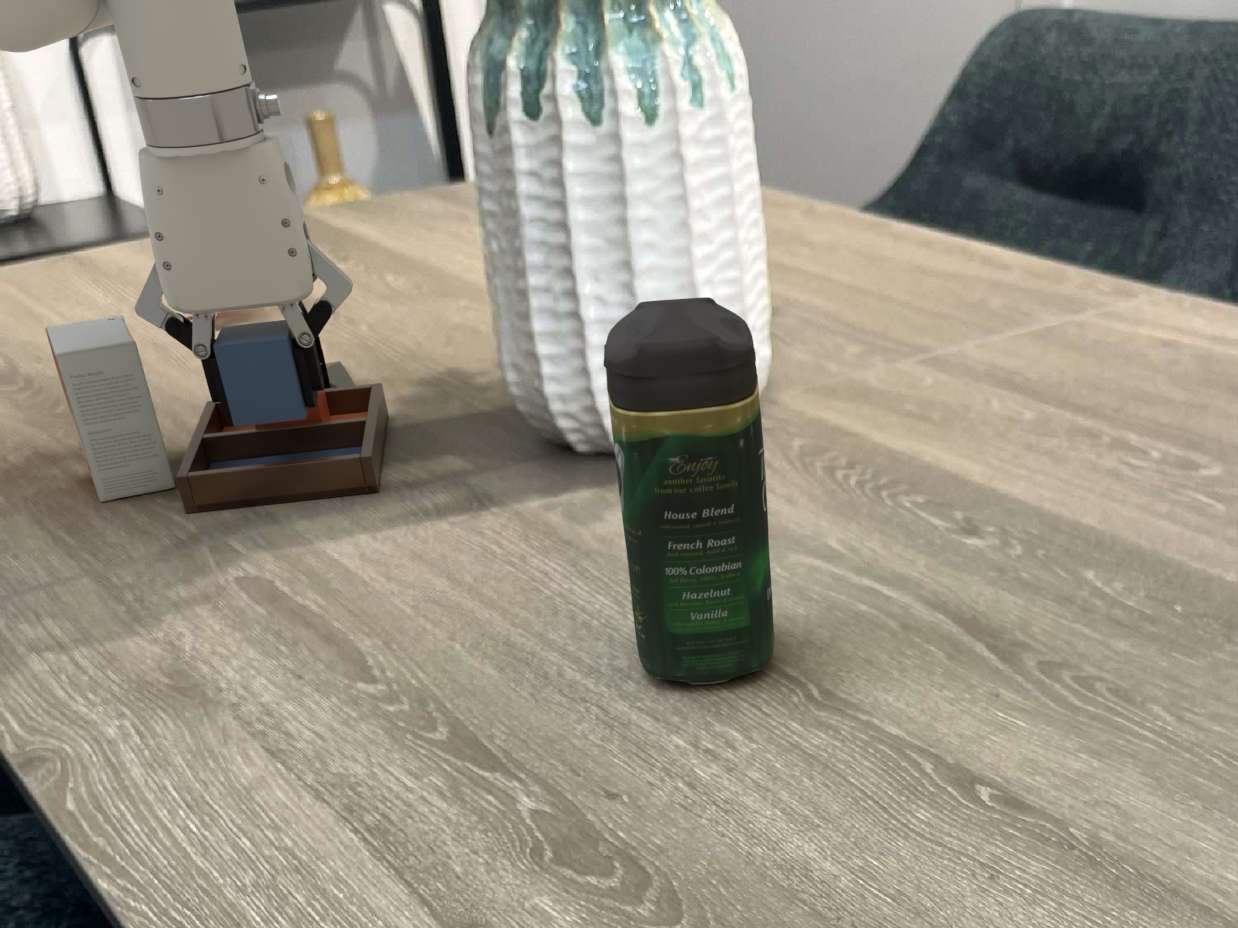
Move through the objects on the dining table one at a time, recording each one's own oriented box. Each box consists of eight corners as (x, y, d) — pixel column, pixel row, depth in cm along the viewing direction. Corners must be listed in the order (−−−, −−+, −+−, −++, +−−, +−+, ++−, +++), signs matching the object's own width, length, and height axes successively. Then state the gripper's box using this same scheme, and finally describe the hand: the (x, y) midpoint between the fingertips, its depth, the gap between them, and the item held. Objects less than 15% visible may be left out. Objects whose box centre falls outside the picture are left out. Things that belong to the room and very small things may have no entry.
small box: (88, 471, 130) (43, 325, 123) (163, 457, 131) (122, 312, 125) (99, 503, 124) (51, 352, 118) (177, 488, 126) (135, 338, 119)
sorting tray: (185, 513, 121) (175, 477, 120) (215, 434, 135) (206, 400, 134) (378, 492, 122) (371, 455, 121) (388, 416, 136) (382, 382, 135)
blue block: (234, 427, 120) (212, 345, 117) (242, 405, 124) (221, 326, 121) (306, 419, 121) (286, 337, 117) (311, 398, 125) (292, 318, 121)
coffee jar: (783, 683, 94) (759, 329, 83) (640, 696, 94) (595, 343, 82) (771, 612, 102) (747, 278, 90) (638, 624, 101) (597, 291, 90)
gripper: (337, 97, 115) (394, 377, 126) (77, 124, 113) (158, 404, 124) (329, 117, 109) (390, 409, 120) (55, 144, 107) (142, 437, 119)
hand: (271, 403), depth 122 cm, fingers closed on blue block, 5 cm apart
